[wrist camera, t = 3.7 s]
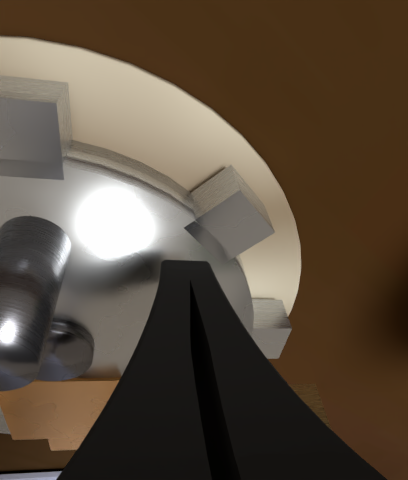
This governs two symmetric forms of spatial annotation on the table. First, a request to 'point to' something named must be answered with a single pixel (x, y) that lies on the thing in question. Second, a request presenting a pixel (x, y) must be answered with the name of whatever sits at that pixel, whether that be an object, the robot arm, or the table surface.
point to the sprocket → (99, 261)
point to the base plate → (164, 141)
